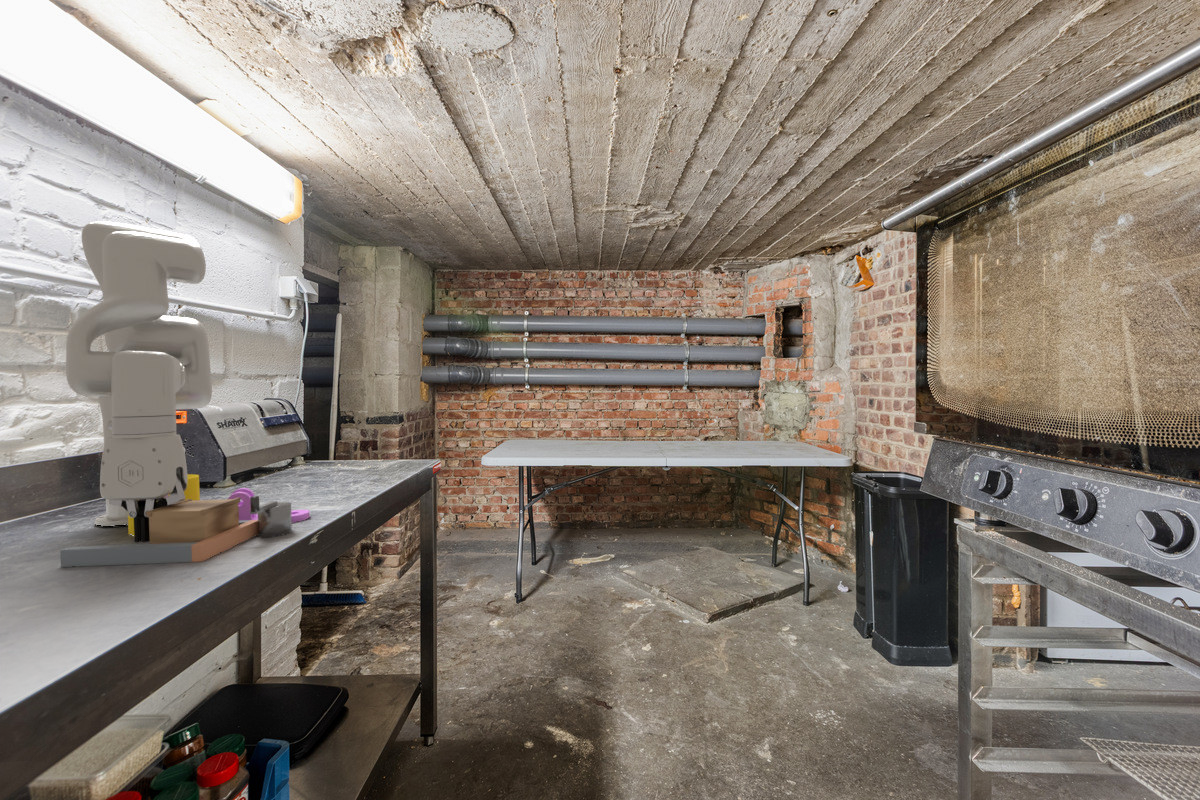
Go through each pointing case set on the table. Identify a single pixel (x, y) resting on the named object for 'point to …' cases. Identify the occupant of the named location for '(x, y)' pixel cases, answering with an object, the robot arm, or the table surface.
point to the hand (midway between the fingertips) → (148, 539)
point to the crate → (192, 520)
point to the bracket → (245, 514)
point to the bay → (159, 549)
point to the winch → (272, 517)
